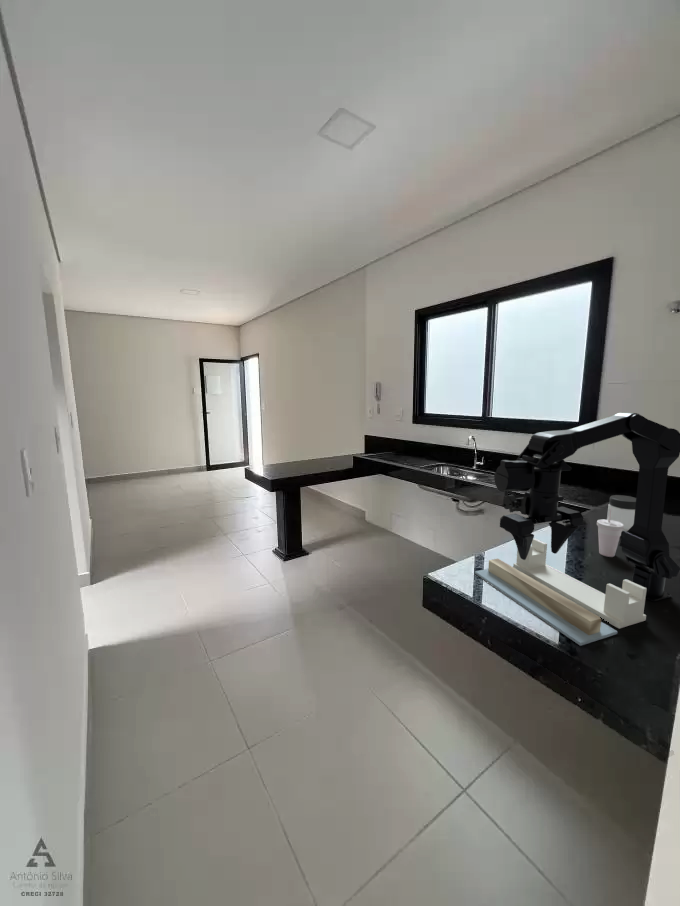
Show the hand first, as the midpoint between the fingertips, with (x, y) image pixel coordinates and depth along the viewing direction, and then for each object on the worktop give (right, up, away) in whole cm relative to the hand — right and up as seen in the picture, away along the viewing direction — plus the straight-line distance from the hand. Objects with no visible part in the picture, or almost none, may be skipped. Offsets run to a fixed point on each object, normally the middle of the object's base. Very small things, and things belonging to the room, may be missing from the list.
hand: (538, 555), depth 83 cm
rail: (0, -10, +2) cm, 10 cm away
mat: (0, -11, +2) cm, 11 cm away
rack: (+11, -10, +5) cm, 15 cm away
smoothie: (+34, -7, +24) cm, 42 cm away
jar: (+50, -4, +41) cm, 65 cm away
